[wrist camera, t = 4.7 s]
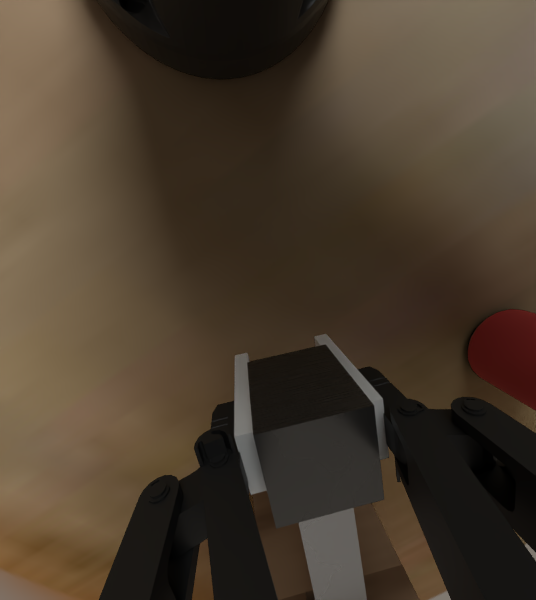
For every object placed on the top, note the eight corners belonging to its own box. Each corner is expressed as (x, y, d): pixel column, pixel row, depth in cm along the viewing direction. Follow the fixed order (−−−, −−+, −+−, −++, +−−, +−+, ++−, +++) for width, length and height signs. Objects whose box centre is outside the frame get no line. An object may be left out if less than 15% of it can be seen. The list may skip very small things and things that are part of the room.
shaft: (246, 362, 13) (253, 435, 9) (325, 344, 14) (374, 405, 9) (315, 652, 19) (341, 792, 15) (369, 636, 20) (412, 768, 15)
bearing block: (252, 483, 24) (269, 747, 12) (348, 458, 25) (462, 685, 12) (265, 532, 26) (292, 812, 13) (355, 507, 27) (463, 754, 14)
